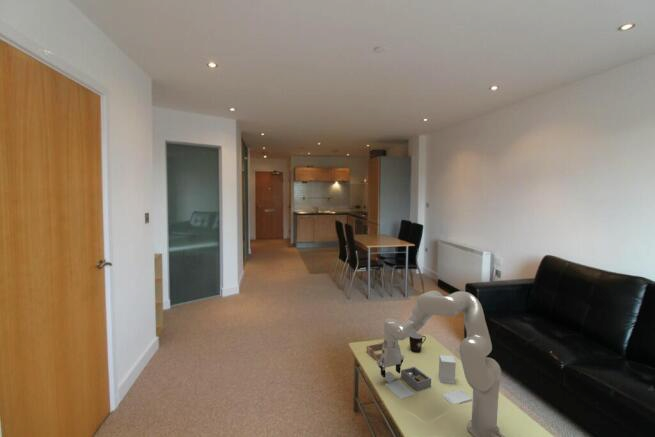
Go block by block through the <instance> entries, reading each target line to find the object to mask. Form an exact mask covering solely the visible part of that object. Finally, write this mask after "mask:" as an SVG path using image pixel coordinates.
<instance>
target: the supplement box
mask: <svg viewBox="0 0 655 437" xmlns="http://www.w3.org/2000/svg"><path fill="white" fill-rule="evenodd" d="M438 360H439V362H438V379H439V382H440V383H441V384H448V385H455V384H456V368H457V367H456V366H457V364H456V362H457V361H456V360H455V358H454V356H453V355H443V354H439V358H438Z"/></svg>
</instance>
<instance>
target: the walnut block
mask: <svg viewBox="0 0 655 437" xmlns="http://www.w3.org/2000/svg"><path fill="white" fill-rule="evenodd" d="M414 379H415V380H416V381H417V382H419V381H422V380H426V379H425V378H424V377H422V376H420V375H418V376H416V377H414Z"/></svg>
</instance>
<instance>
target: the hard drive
mask: <svg viewBox="0 0 655 437" xmlns="http://www.w3.org/2000/svg"><path fill="white" fill-rule="evenodd" d="M440 396H441V397H442V398H444V399H445V400H446V401H448V402H449V403H450V404H451V405H452V406H453V405H456V404H457V406H458V405H463V404H466V403H470V402H472V400H473V397H471V396H469V395H468V394H467V393H465V392H464V391H463V390H462V389H456V390H452V391H449V392H448V391H447V392H445V393H441V394H440Z"/></svg>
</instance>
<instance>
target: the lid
mask: <svg viewBox="0 0 655 437" xmlns="http://www.w3.org/2000/svg"><path fill="white" fill-rule="evenodd" d="M384 380H385V381H386V382H387V383H385V384H384V386H386V387H387V388H388V389H389V390H390V391H391V392H392V393H393V394H394V395H395V396H397V397H398V398H399V399H400V400H403V399H406V398H409V397H412V396H414V395H415V396H416V393H415V392H414V391H413V390H411V389H410V388H409V387H407V386H406V385H405V384H404V383H403V382H401V381H400V380H399V379H396V380H395V374H393V373H392V371H385V378H384Z"/></svg>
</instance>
